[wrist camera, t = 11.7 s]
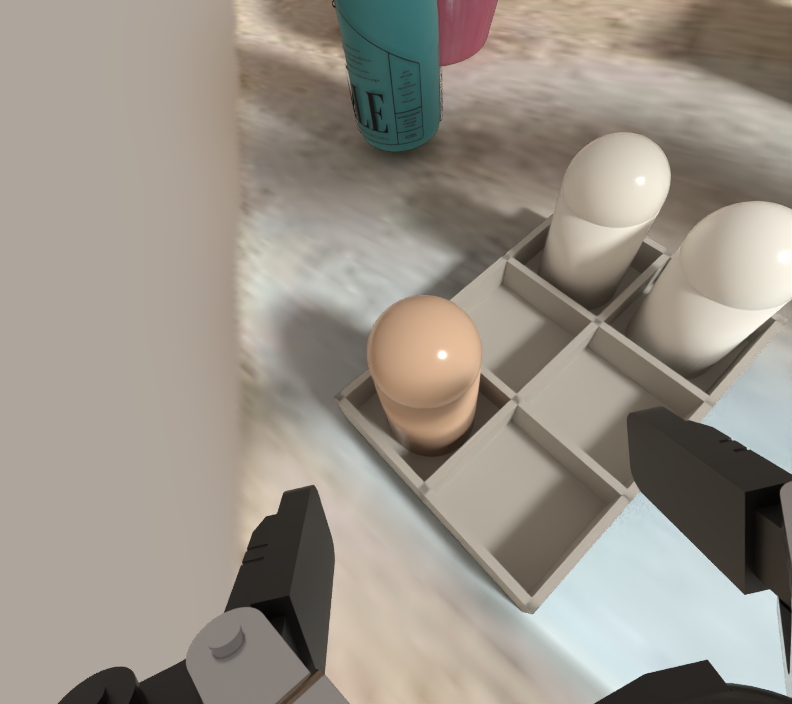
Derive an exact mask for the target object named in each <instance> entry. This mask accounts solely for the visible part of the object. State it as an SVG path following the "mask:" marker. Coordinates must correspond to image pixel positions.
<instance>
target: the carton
mask: <svg viewBox="0 0 792 704" xmlns="http://www.w3.org/2000/svg"><path fill="white" fill-rule="evenodd" d="M553 214H554V213H553ZM553 214H552V215H551V216H550V217H548V218H547V219H546V220H545V221H544V222H542V223H541V224H540V225H539V226H538V227H536V228H535V229H534V230H533V231H532V232H530V233H529V234H528V235H527V236H526V237H525V238H523V239H522V240H521V241H520V242H519V243H517V244H516V245H515V246H514V247H513V248H511V249H510V250H509V251H508V252H507V253H505V254H504V255H503V256H502V257H501V258H499V259H498V260H497V261H496V262H495V263H493V264H492V265H491V266H490V267H489V268H488V269H486V270H485V271H484V272H483V273H482V274H480V275H479V276H478V277H477V278H476V279H474V280H473V281H472V282H471V283H470V284H468V285H467V286H466V287H465V288H464V289H462V290H461V291H460V292H459V293H458V294H457V295H455V296H454V297H453V298H452V299H451V300H450V301H451V302H453V303H455V304H456V305H458V306H459V307H461V308H462V309H463V310H464V311H465V312H466V313H467V314H468V315H469V316H470V317H471V319H472V320H473V322H474V324H475V325H476V327H477V329H478V332H479V334H480V338H481V342H482V352H483V353H482V365H481V373H480V381H479V389H478V397H477V405H476V413H475V420H474V426H473V429H472V431H471V433H470V435H469V437H468V438H467V440H466V441H465V442H464V443H463V444H462V445H461V446H460V447H459V448H458V449H456V450H454V451H453V452H451V453H448V454H445V455H442V456H437V457H428V456H421V455H418V454H415V453H413V452H411V451H409V450H407V449H406V448H404V447H403V446H402V445H401V444H400V443H399V442H398V441H397V440H396V438H395V436H394V435H393V433H392V431H391V428H390V425H389V423H388V420H387V417H386V415H385V412H384V409H383V406H382V404H381V401H380V398H379V396H378V393H377V390H376V387H375V385H374V382H373V379H372V377H371V374H370V371H369V368H368V369H367V370H366V371H365V372H363V373H362V374H361V375H360V376H359V377H357V378H356V379H355V380H354V381H353V382H352V383H350V384H349V385H348V386H347V387H346V388H344V389H343V390H342V391H341V392H340V393H338V394H337V395H336V396H335V397H334V398H335V400H336V401H337V403H338V405H339V407H340V408H341V410H342V412H343V414H344V415H345V417H346V418H347V419H348V420H349V421H350V422H351V423H352V425H353V426H354V427H355V428H356V429H357V430H358V431H359V432H360V433H361V434H362V436H363V437H364V438H365V439H366V440H367V441H368V442H369V443H370V444H371V445H372V447H373V448H374V449H375V450H376V451H377V452H378V453H379V454H380V455H381V456H382V458H383V459H384V460H385V461H386V462H387V463H388V464H389V465H390V466H391V467H392V469H393V470H394V471H395V472H396V473H397V474H398V475H399V476H400V477H401V478H402V480H403V481H404V482H405V483H406V484H407V485H408V486H409V487H410V488H411V489H412V491H413V492H414V493H415V494H416V495H417V496H418V497H419V498H420V499H421V501H422V502H423V503H424V504H425V505H426V506H427V507H428V508H429V509H430V510H431V512H432V513H433V514H434V515H435V516H436V517H437V518H438V519H439V520H440V521H441V523H442V524H443V525H444V526H445V527H446V528H447V529H448V530H449V531H450V532H451V534H452V535H453V536H454V537H455V538H456V539H457V540H458V541H459V542H460V543H461V545H462V546H463V547H464V548H465V549H466V550H467V551H468V552H469V553H470V554H471V556H472V557H473V558H474V559H475V560H476V561H477V562H478V563H479V564H480V565H481V567H482V568H483V569H484V570H485V571H486V572H487V573H488V574H489V575H490V576H491V578H492V579H493V580H494V581H495V582H496V583H497V584H498V585H499V586H500V588H501V589H502V590H503V591H504V592H505V593H506V594H507V595H508V596H509V597H510V599H511V600H512V601H513V602H514V603H515V604H516V605H517V606H518V607H519V608H520V610H521V611H522V612H525V613H530V614H534V613H535V611H536V610H537V609H538V608H539V607H540V606H541V604H542V603H543V602H544V601H545V600H546V599H547V598H548V596H549V595H550V594H551V593H552V592H553V591H554V589H555V588H556V587H557V586H558V585H559V584H560V583H561V581H562V580H563V579H564V578H565V577H566V576H567V575H568V573H569V572H570V571H571V570H572V569H573V568H574V566H575V565H576V564H577V563H578V562H579V561H580V560H581V558H582V557H583V556H584V555H585V554H586V553H587V551H588V550H589V549H590V548H591V547H592V546H593V545H594V543H595V542H596V541H597V540H598V539H599V538H600V537H601V535H602V534H603V533H604V532H605V531H606V530H607V528H608V527H609V526H610V525H611V524H612V523H613V522H614V520H615V519H616V518H617V517H618V516H619V515H620V513H621V512H622V511H623V510H624V509H625V508H626V507H627V505H628V504H629V503H630V502H631V501H632V500H633V499H634V497H635V496H636V495H637V494H638V493H639V492H640V490H639V488H638V487H637V485H636V483H635V481H634V479H633V476H632V473H631V469H630V458H629V445H628V433H627V416H628V414H629V413H631V412H636V411H640V410H644V409H649V408H653V407H657V406H662V407H665V408H666V409H668V410H669V411H671V412H673V413H674V414H676V415H677V416H679V417H681V418H682V419H684V420H685V421H687V420H691V421H694V422H697V423H700V421H701V420H702V419H703V418H704V417H705V416H706V414H707V413H708V412H709V411H710V410H711V409H712V408H713V406H714V405H715V404H716V403H717V402H718V401H719V400H720V398H721V397H722V396H723V395H724V394H725V393H726V391H727V390H728V389H729V388H730V387H731V386H732V385H733V383H734V382H735V381H736V380H737V379H738V378H739V376H740V375H741V374H742V373H743V372H744V371H745V370H746V368H747V367H748V366H749V365H750V364H751V363H752V362H753V360H754V359H755V358H756V357H757V356H758V355H759V353H760V352H761V351H762V350H763V349H764V348H765V347H766V345H767V344H768V343H769V342H770V341H771V340H772V338H773V337H774V336H775V335H776V334H777V333H778V332H779V330H780V329H781V328H782V327H783V326H784V325H785V324H786V322H787V321H788V320H787V319H786V318H784V317H782V316H781V315H779V314H777V313H775V314H774V315H772V316H771V317H770V318H769V319H768V320H766V321H765V322H764V323H763V324H762V325H761V326H759V327H758V328H757V329H756V330H755V331H754V332H752V333H751V334H750V335H749V336H748V337H746V338H745V339H744V340H743V341H742V342H741V343H739V344H738V345H737V346H736V347H735V348H734V349H732V350H731V351H730V352H729V353H728V354H726V355H725V356H724V357H723V358H722V359H721V360H719V361H718V362H717V363H716V364H715V365H714V366H712V367H711V368H710V369H709V370H708V371H706V372H705V373H704V374H702V375H700V376H698V377H696V378H693V379H688V380H686V379H685V378H683V377H682V376H680V375H679V374H678V373H676V372H675V371H673V370H672V369H671V368H669V367H668V366H666V365H665V364H663V363H662V362H661V361H659V360H658V359H656V358H655V357H653V356H652V355H651V354H649V353H648V352H646V351H645V350H644V349H642V348H641V347H639V346H638V345H636V344H635V343H634V342H632V341H631V340H629V339H628V338H626V337H625V333H626V328H627V325H628V323H629V321H630V320H631V318H632V317H633V315H634V314H635V312H636V311H637V309H638V308H639V306H640V305H641V303H642V302H643V300H644V299H645V297H646V296H647V294H648V293H649V291H650V290H651V288H652V287H653V285H654V284H655V282H656V281H657V279H658V278H659V277H660V275H661V274H662V272H663V271H664V269H665V268H666V266H667V265H668V263H669V262H670V260H671V259H672V257H673V256H674V254H675V253H673V252H672V251H670V250H668V249H667V248H665V247H663V246H661V245H660V244H658V243H656V242H655V241H653V240H651V239H650V238H648V237H645V239H644V240H643V242H642V244H641V246H640V248H639V250H638V251H637V253H636V255H635V257H634V259H633V261H632V262H631V264H630V266H629V268H628V270H627V272H626V273H625V275H624V277H623V279H622V281H621V283H620V284H619V286H618V288H617V290H616V292H615V294H614V295H613V297H612V298H611V299H610V300H609V301H608V302H607V303H606V304H604V305H603V306H601V307H598V308H596V309H592V310H587V309H585V308H584V307H582V306H581V305H580V304H578V303H577V302H575V301H574V300H572V299H571V298H570V297H568V296H567V295H565V294H564V293H562V292H561V291H560V290H558V289H557V288H555V287H554V286H553V285H551V284H550V283H548V282H547V281H545V280H544V279H543V278H541V277H540V276H538V275H537V274H538V269H539V265H540V262H541V258H542V254H543V251H544V247H545V243H546V240H547V236H548V233H549V229H550V225H551V222H552V218H553Z"/></svg>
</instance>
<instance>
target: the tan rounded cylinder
mask: <svg viewBox="0 0 792 704" xmlns="http://www.w3.org/2000/svg"><path fill="white" fill-rule="evenodd" d="M482 353H483V352H482V342H481V338H480V334H479V332H478V329H477V327H476V325H475V324H474V322H473V320H472V319H471V317H470V316H469V315H468V314H467V313H466V312H465V311H464V310H463V309H462V308H461V307H459V306H458V305H456V304H455V303H453V302H451V301H450V300H447V299H445V298H442V297H438V296H432V295H416V296H411V297H408V298H405V299H402V300H400V301H398V302H396V303H394V304H393V305H391V306H390V307H388V308H387V309H386V310H385V311H384V312H383V313H382V314H381V315H380V317H379V318H378V319H377V320H376V322H375V324H374V325H373V327H372V330H371V332H370V335H369V338H368V343H367V363H368V367H369V371H370V374H371V377H372V379H373V382H374V385H375V387H376V390H377V393H378V396H379V398H380V401H381V404H382V406H383V409H384V412H385V415H386V417H387V420H388V423H389V425H390V428H391V431H392V433H393V435H394V436H395V438H396V440H397V441H398V442H399V443H400V444H401V445H402V446H403V447H404V448H406V449H407V450H409V451H411V452H413V453H415V454H418V455H421V456H428V457H437V456H442V455H445V454H448V453H451V452H453V451H454V450H456V449H458V448H459V447H460V446H461V445H462V444H463V443H464V442H465V441H466V440H467V438H468V437H469V435H470V433H471V431H472V429H473V426H474V420H475V413H476V405H477V397H478V389H479V381H480V373H481V365H482Z"/></svg>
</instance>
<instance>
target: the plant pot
mask: <svg viewBox="0 0 792 704" xmlns="http://www.w3.org/2000/svg"><path fill="white" fill-rule="evenodd" d="M497 2H498V0H437V3H438V5H437V8H438V7H439V8H438V28H439V19H440V29H439V41H440V43H439V66H440V64H441V62H442V64H441V66H444V65H450V64H454V63H457V62H460V61H463V60H465V59H467V58H469V57H471V56H473V55H474V54H475V53H477V52H478V51H479V50H480V49H481V48H482V47H483V45H484V44H485V42H486V40H487V37H488V33H489V30H490V26H491V23H492V19H493V16H494V12H495V9H496V5H497ZM439 11H440V13H439ZM440 17H441V18H440ZM440 34H441V36H440ZM441 48H442V49H441ZM441 50H442V52H441ZM441 57H442V58H441Z"/></svg>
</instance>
